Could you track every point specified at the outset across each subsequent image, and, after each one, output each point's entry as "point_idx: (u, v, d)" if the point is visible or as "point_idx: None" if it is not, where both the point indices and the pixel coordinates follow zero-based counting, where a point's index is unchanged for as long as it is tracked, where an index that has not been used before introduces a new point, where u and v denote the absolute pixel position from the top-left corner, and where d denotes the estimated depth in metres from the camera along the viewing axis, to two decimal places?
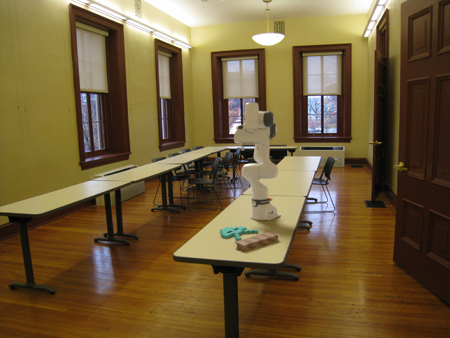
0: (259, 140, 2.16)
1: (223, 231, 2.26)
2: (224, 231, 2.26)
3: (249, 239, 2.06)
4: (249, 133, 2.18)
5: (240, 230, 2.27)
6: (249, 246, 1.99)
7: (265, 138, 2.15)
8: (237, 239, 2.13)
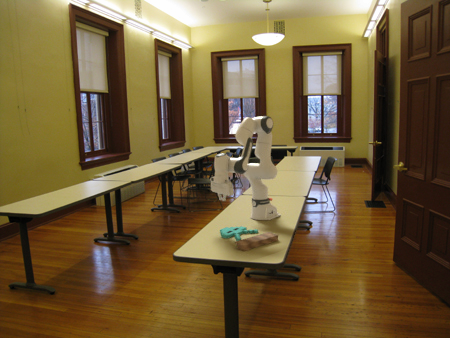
0: (225, 193, 2.28)
1: (223, 231, 2.26)
2: (224, 231, 2.26)
3: (249, 239, 2.06)
4: (219, 185, 2.32)
5: (240, 230, 2.27)
6: (249, 246, 1.99)
7: (228, 192, 2.25)
8: (237, 239, 2.13)
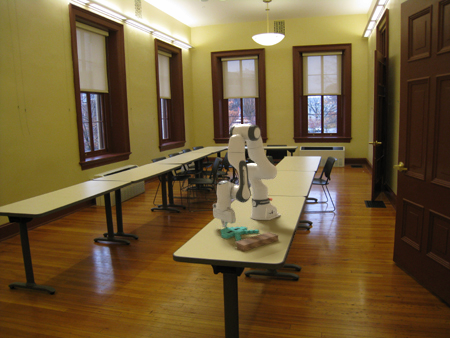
0: (227, 221, 2.29)
1: (224, 231, 2.26)
2: (225, 231, 2.26)
3: (249, 239, 2.06)
4: (221, 212, 2.33)
5: (241, 230, 2.27)
6: (249, 246, 1.99)
7: (230, 220, 2.26)
8: (237, 239, 2.12)
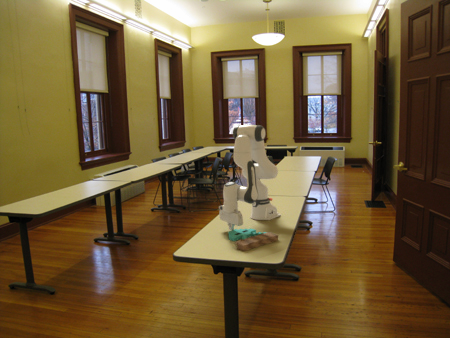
0: (234, 223, 2.23)
1: (231, 233, 2.21)
2: (232, 233, 2.21)
3: (249, 239, 2.06)
4: (228, 214, 2.27)
5: (249, 232, 2.21)
6: (249, 246, 1.99)
7: (237, 223, 2.20)
8: None
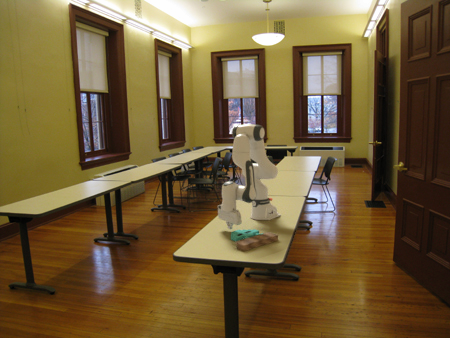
0: (232, 222, 2.25)
1: (234, 233, 2.21)
2: (235, 233, 2.21)
3: (249, 239, 2.06)
4: None
5: (251, 233, 2.20)
6: (249, 246, 1.99)
7: (236, 222, 2.22)
8: None
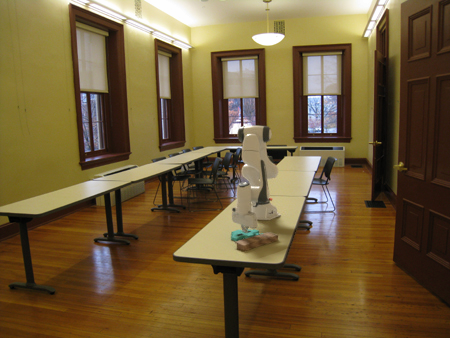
0: (248, 226, 2.12)
1: (234, 233, 2.21)
2: (235, 233, 2.21)
3: (249, 239, 2.06)
4: None
5: (251, 233, 2.20)
6: (249, 246, 1.99)
7: (252, 225, 2.09)
8: None
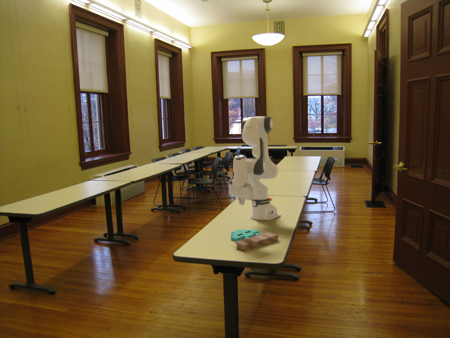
0: (245, 198, 2.15)
1: (234, 233, 2.21)
2: (235, 233, 2.21)
3: (249, 239, 2.06)
4: (238, 188, 2.19)
5: (251, 233, 2.20)
6: (249, 246, 1.99)
7: (248, 197, 2.12)
8: None
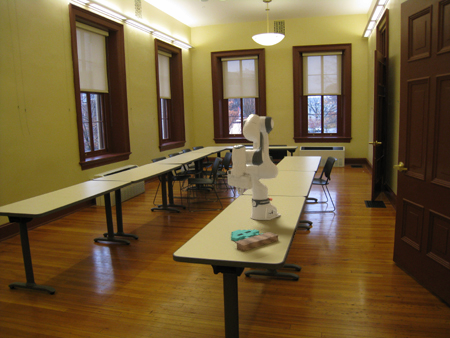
0: (243, 187, 2.15)
1: (234, 233, 2.21)
2: (235, 233, 2.21)
3: (249, 239, 2.06)
4: (237, 178, 2.20)
5: (251, 233, 2.20)
6: (249, 246, 1.99)
7: (247, 186, 2.12)
8: None
